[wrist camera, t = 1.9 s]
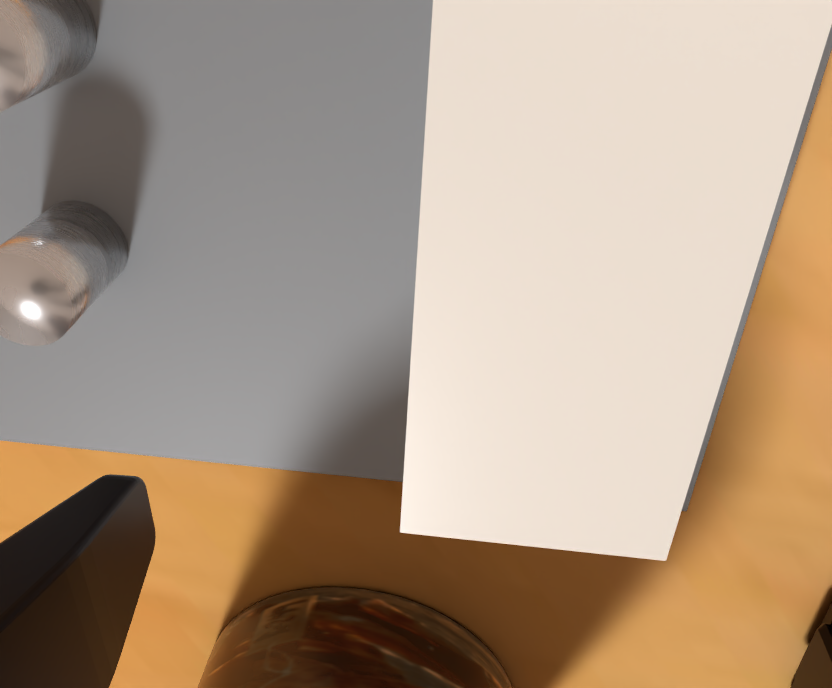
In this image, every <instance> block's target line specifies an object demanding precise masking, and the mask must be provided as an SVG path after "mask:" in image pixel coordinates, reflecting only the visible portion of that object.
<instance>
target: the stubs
mask: <svg viewBox="0 0 832 688" xmlns="http://www.w3.org/2000/svg"><path fill="white" fill-rule="evenodd" d="M96 44H97V32H96V25H95V21H94V18H93V15H92V13H91V10H90V8H89V6H88V4H87V3H86V1H85V0H0V112H2V111H4V110H6V109H8V108H10V107H12V106H14V105H16V104H18V103H20V102H22V101H24V100H26V99H28V98H30V97H32V96H35V95H37V94H39V93H41V92H43V91H45V90H47V89H49V88H51V87H53V86H55V85H57V84H59V83H61V82H63V81H65V80H67V79H69V78H71V77H73V76H75V75H77V74H79V73H80V72H82V71H83V70H84V69H85V68H86V67H87V66H88V65H89V63H90V62H91V60H92V58H93V56H94V53H95V50H96ZM127 260H128V246H127V241H126V239H125V236H124V234H123V232H122V230H121V229H120V227H119V226H118V224H117V223H116V222H115V221H114V220H113V219H112V218H111V217H110V216H109V215H108V214H107V213H105V212H104V211H102V210H101V209H99V208H97V207H96V206H93V205H91V204H88V203H85V202H80V201H64V202H60V203H58V204H55V205H54V206H52V207H50V208H49V209H48V210H46V211H45V212H44V213H42V214H41V215H40V216H39V217H37V218H36V219H35V220H33V221H32V222H31V223H29V224H28V225H27V226H25V227H24V228H23V229H21V230H20V231H19V232H17V233H16V234H15V235H13V236H12V237H11V238H9V239H8V240H7V241H5V242H4V243H3V244H2V245H0V335H1V336H2V337H4V338H6V339H8V340H10V341H13V342H16V343H19V344H22V345H28V346H43V345H48V344H51V343H53V342H55V341H57V340H59V339H60V338H61V337H62V336H63V335H64V334H65V333H66V332H67V331H68V330H69V329H70V328H71V327H72V326H73V325H74V324H75V322H76V321H77V320H78V319H79V318H80V317H81V316H82V315H83V314H84V313H85V312H86V311H87V310H88V308H89V307H90V306H91V305H92V304H93V303H94V302H95V301H96V300H97V299H98V298H99V297H100V296H101V295H102V293H103V292H104V291H105V290H106V289H107V288H108V287H109V286H110V285H111V284H112V283H113V282H114V281H115V280H116V278H117V277H118V276H119V275H120V274H121V273H122V272H123V270H124V269H125V267H126V264H127Z"/></svg>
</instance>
